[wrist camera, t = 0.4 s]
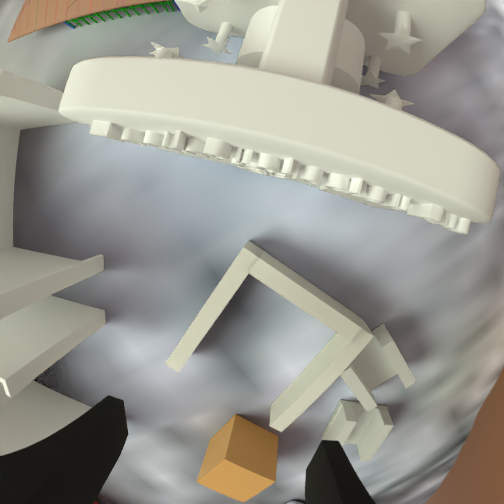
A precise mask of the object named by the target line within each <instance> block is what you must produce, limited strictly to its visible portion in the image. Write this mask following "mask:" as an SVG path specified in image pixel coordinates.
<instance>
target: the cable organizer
mask: <svg viewBox="0 0 504 504" xmlns="http://www.w3.org/2000/svg"><path fill="white" fill-rule="evenodd" d="M174 1H175V2H176V4H177V5H178V7H179V8H180V10H181V12H182V13H183V15H184V16H185V18H186V20H187V21H188V22H189V23H191V24H192V25H194V26H196V27H198V28H200V29H203V30H206V31H209V32H213V33H218V34H217V37H216V40H215V41H214V40H212V39H211V38H209V37H207V38H208V41H209V43H208V44H204V45H202V46H205V47H208V48H211V49H213V51H214V52H215V53H216V55H218V54H219V53H220V52H225V53H230V52H229V51H228V50H227V49H226V45H227V42H228V39H229V36H230V35H232V36H240V37H245V38H244V41H243V44H242V47H241V50H240V53H239V56H238V59H237V62H236V65H234V64H228V63H220V62H212V61H204V60H194V59H185V58H183V57H182V56H180V55H179V47H174V48H165V47H163V46H160V45H158V44H156V43H153V42H151V41H150V42H151V43H152V44H153V46H154V47H155V48H156V50H155V51H153V52H150V53H149V54H153V55H155V56H154V57H147V56H108V57H97V58H91V59H87V60H84V61H81V62H79V63H77V64H75V65H74V66H73V68H72V70H71V73H70V75H69V78H68V81H67V84H66V87H65V90H64V93H63V96H62V99H61V103H60V106H59V113H60V114H61V115H63V116H64V117H67V118H69V119H71V120H74V121H77V122H80V123H83V124H86V125H90V126H91V129H90V133H89V134H92V135H100V136H103V137H107V138H110V139H114V140H117V141H121V142H126V141H127V142H130V143H134V144H139V145H144V146H147V145H150V146H153V147H157V148H160V149H163V150H166V151H170V152H174V153H178V154H182V155H187V156H192V157H197V158H201V159H206V160H211V161H215V162H220V163H224V164H229V165H233V166H237V167H239V168H241V169H244V170H247V171H251V172H255V173H259V174H263V175H267V176H273V177H279V178H284V179H289V180H292V181H296V182H300V183H303V184H307V185H310V186H314V187H317V188H320V190H321V191H325V192H328V193H332V194H335V195H338V196H342V197H345V198H348V199H351V200H354V201H358V202H361V203H364V204H367V205H370V206H373V207H377V208H385V209H392V210H399V211H400V210H401V211H407V214H408V215H411V216H417V217H420V218H423V219H426V220H427V222H430V223H434V224H439V225H443V228H445V229H448V230H450V231H454V232H457V233H460V234H464V235H468V232H469V228H470V224H471V222H474V223H488V222H491V220H492V216H493V211H494V206H495V201H496V196H497V191H498V185H499V179H500V170H499V167H498V166H497V164H496V163H495V162H494V161H493V159H492V158H491V157H489V156H488V155H487V154H486V153H485V152H483V151H482V150H481V149H479V148H478V147H476V146H475V145H473V144H472V143H470V142H468V141H467V140H465V139H463V138H461V137H459V136H457V135H455V134H453V133H451V132H449V131H447V130H445V129H443V128H441V127H439V126H437V125H434V124H432V123H430V122H428V121H426V120H423V119H421V118H419V117H417V116H414V115H412V114H409V113H407V112H405V111H402V107H403V106H408V105H414V104H415V103H412V102H409V101H405V100H402V99H400V98H399V96H398V94H397V92H396V90H395V89H394V90H393V91H391V92H390V93H388V94H387V95H385V96H383V95H375V94H369V95H371V96H372V97H373V98H375V99H376V100H377V101H376V100H373V99H370V98H368V97H365V96H362V95H359V92H360V86H364V85H371V86H373V87H375V88H377V89H379V88H378V83H380V82H383V81H386V80H384V79H380V78H378V75H379V71H382V72H385V73H390V74H395V75H413V74H416V73H418V72H419V71H420V70H421V69H422V68H423V67H424V66H426V65H427V64H428V63H429V62H430V61H431V60H432V59H433V58H435V57H436V56H437V55H438V54H439V53H440V52H441V51H442V50H444V49H445V48H446V47H447V46H448V45H449V44H450V43H451V42H453V41H454V40H455V39H456V38H457V37H458V36H459V35H461V34H462V33H463V32H464V31H465V30H466V29H467V28H469V27H470V26H471V25H472V24H473V23H474V22H475V21H477V20H478V19H479V18H480V17H481V16H482V15H483V14H484V12H485V10H486V2H485V0H174ZM230 54H231V53H230ZM363 65H364V66H367V67H368V68H367V73H366V75H365V76H362V70H363ZM361 80H362V82H361Z"/></svg>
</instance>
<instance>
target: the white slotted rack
mask: <svg viewBox="0 0 504 504" xmlns="http://www.w3.org/2000/svg"><path fill="white" fill-rule="evenodd" d="M63 93H64V92H62V91H60V90H57V89H55V88H52V87H49V86H47V85H44V84H41V83H39V82H36V81H33V80H31V79H28V78H25V77H22V76H19V75H17V74H14V73H11V72H8V71H5V70H0V456H2V455H6V454H9V453H12V452H15V451H17V450H20V449H23V448H25V447H28V446H30V445H32V444H34V443H36V442H39V441H41V440H42V439H44V438H46V437H48V436H50V435H52V434H53V433H55V432H57V431H58V430H60V429H62V428H63V427H65V426H66V425H68V424H69V423H71V422H72V421H74V420H75V419H77V418H78V417H80V416H81V415H83V414H84V413H85V412H87V411H88V410H89V409H91V408H92V407H91V406H88V405H86V404H83V403H81V402H78V401H76V400H74V399H71V398H69V397H67V396H64V395H62V394H60V393H58V392H56V391H54V390H51V389H49V388H47V387H45V386H43V385H41V384H39V383H37V382H35V381H33V380H34V379H35V378H36V377H37V376H39V375H40V374H41V373H42V372H44V371H45V370H46V369H47V368H49V367H50V366H51V365H53V364H54V363H55V362H56V361H58V360H59V359H60V358H62V357H63V356H64V355H65V354H67V353H68V352H69V351H71V350H72V349H73V348H75V347H76V346H77V345H79V344H80V343H81V342H82V341H84V340H85V339H86V338H88V337H89V336H90V335H92V334H93V333H94V332H96V331H97V330H98V329H100V328H101V327H102V326H104V325H105V324H106V320H105V310H102V309H98V308H94V307H90V306H87V305H83V304H79V303H76V302H72V301H69V300H65V299H62V298H58V297H55V296H51V295H52V294H54V293H56V292H58V291H60V290H62V289H65V288H67V287H69V286H71V285H73V284H75V283H78V282H80V281H82V280H84V279H86V278H89V277H91V276H93V275H95V274H97V273H100V272H102V271H104V255H100V254H99V255H97V256H94V257H91V258H88V259H85V260H82V261H79V260H74V259H69V258H64V257H59V256H54V255H49V254H44V253H39V252H35V251H30V250H25V249H21V248H16V247H13V198H14V182H15V170H16V160H17V151H18V144H19V137H20V131H21V130H23V129H30V128H36V127H43V126H50V125H58V124H66V123H76V122H77V121H74V120H71V119H69V118H67V117H64V116H63V115H61V114H60V113H59V106H60V103H61V99H62V96H63Z"/></svg>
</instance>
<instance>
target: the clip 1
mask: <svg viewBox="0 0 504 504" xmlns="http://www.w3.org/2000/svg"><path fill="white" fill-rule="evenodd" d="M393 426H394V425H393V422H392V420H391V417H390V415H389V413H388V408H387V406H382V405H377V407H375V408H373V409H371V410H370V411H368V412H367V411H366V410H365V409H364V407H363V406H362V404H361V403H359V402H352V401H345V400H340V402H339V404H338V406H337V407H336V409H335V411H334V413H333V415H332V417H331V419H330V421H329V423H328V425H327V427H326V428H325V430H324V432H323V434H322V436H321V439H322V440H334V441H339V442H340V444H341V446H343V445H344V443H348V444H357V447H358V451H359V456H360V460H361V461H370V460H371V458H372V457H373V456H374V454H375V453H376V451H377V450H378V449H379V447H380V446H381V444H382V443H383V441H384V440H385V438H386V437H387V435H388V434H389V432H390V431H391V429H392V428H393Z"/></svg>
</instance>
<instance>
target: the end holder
mask: <svg viewBox="0 0 504 504" xmlns="http://www.w3.org/2000/svg"><path fill="white" fill-rule="evenodd" d="M248 274H251V275H252V276H253V277H255V278H256V279H258V280H259V281H261V282H262V283H264V284H265V285H267V286H268V287H270V288H271V289H273V290H274V291H276V292H277V293H279V294H280V295H282V296H283V297H284V298H286V299H287V300H289V301H290V302H292V303H293V304H295V305H296V306H298V307H299V308H301V309H302V310H304V311H305V312H307V313H308V314H310V315H311V316H313V317H314V318H316V319H317V320H319V321H320V322H322V323H323V324H325V325H326V326H328V327H330V328H331V329H333V330H334V331H336V334H335V335H334V336H333V337H332V338H331V340H330V341H329V342H328V343H327V344H326V345H325V347H324V348H323V349H322V350H321V351H320V352H319V354H318V355H317V356H316V357H315V358H314V359H313V360H312V362H311V363H310V364H309V365H308V366H307V367H306V368H305V369H304V370H303V372H302V373H301V374H300V375H299V376H298V377H297V378H296V379H295V380H294V381H293V382H292V383H291V384H290V386H289V387H288V388H287V389H286V390H285V391H284V392H283V393H282V394H281V395H280V396H279V397H278V398H277V399H276V400H275V401H274V402H273V403H272V404H271V413H270V424H269V426H270V427H272V428H274V429H276V430H278V431H280V432H282V431H283V430H284V429H285V428H287V427H288V426H289V425H290V424H291V423H292V422H293V421H294V420H295V419H296V418H297V417H299V416H300V415H301V414H302V413H303V412H304V411H305V410H306V409H307V408H308V407H309V406H310V405H311V404H312V403H313V402H314V401H315V400H316V399H317V398H318V397H319V396H320V395H321V394H322V393H323V392H324V391H325V390H326V389H327V388H328V387H329V386H330V385H331V384H332V383H333V382H334V381H335V380H336V379H337V377H338V376H339V375H340V374H341V373H342V372H343V371H344V370H345V369H346V368H347V367H348V366H349V364H350V363H351V362H352V361H353V360H354V359H355V358H356V357H357V356H358V354H359V353H360V352H361V351H362V350H363V349H364V347H365V346H366V345H367V344H368V343H369V342H370V340H371V339H372V338H373V337H374V336H373V334H372V332H371V331H370V329H369V327H368V326H367V324H366V322H365V321H364V320H363V319H362V318H360V317H359V316H357V315H356V314H355V313H353V312H352V311H350V310H349V309H347V308H346V307H344V306H343V305H342V304H340V303H339V302H337V301H336V300H334V299H333V298H332V297H330V296H329V295H327V294H326V293H324V292H323V291H321V290H320V289H319V288H317V287H316V286H314V285H313V284H311V283H310V282H308V281H307V280H306V279H304V278H303V277H301V276H300V275H298V274H297V273H295V272H294V271H293V270H291V269H290V268H288V267H287V266H285V265H284V264H282V263H281V262H279V261H278V260H277V259H275V258H274V257H272V256H271V255H269V254H268V253H266V252H265V251H264V250H262V249H261V248H259V247H258V246H256V245H255V244H253V243H252V242H250V241H248V242H247V243H246V245H245V246H244V247H243V249H242V250H241V252H240V253H239V255H238V256H237V257H236V259H235V260H234V262H233V263H232V265H231V266H230V268H229V269H228V271H227V272H226V274H225V275H224V277H223V278H222V280H221V281H220V283H219V284H218V286H217V287H216V288H215V290H214V291H213V293H212V294H211V296H210V297H209V299H208V300H207V302H206V303H205V305H204V306H203V308H202V309H201V311H200V312H199V314H198V315H197V317H196V318H195V320H194V321H193V323H192V324H191V326H190V327H189V329H188V330H187V332H186V333H185V335H184V336H183V338H182V339H181V341H180V342H179V344H178V345H177V347H176V348H175V350H174V351H173V353H172V354H171V356H170V357H169V359H168V360H167V362H166V363H165V364H166V365H168V366H169V367H171V368H172V369H173V370H175V371H176V372H179V371H180V370H181V368H182V367H183V365H184V364H185V363H186V361H187V360H188V358H189V357H190V356H191V354H192V353H193V351H194V350H195V349H196V347H197V346H198V344H199V343H200V342H201V340H202V339H203V337H204V336H205V334H206V333H207V332H208V330H209V329H210V327H211V326H212V325H213V323H214V322H215V320H216V319H217V318H218V316H219V315H220V313H221V312H222V311H223V309H224V308H225V306H226V305H227V303H228V302H229V301H230V299H231V298H232V296H233V295H234V294H235V292H236V291H237V289H238V288H239V286H240V285H241V284H242V282H243V281H244V279H245V278H246V276H247V275H248Z"/></svg>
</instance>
